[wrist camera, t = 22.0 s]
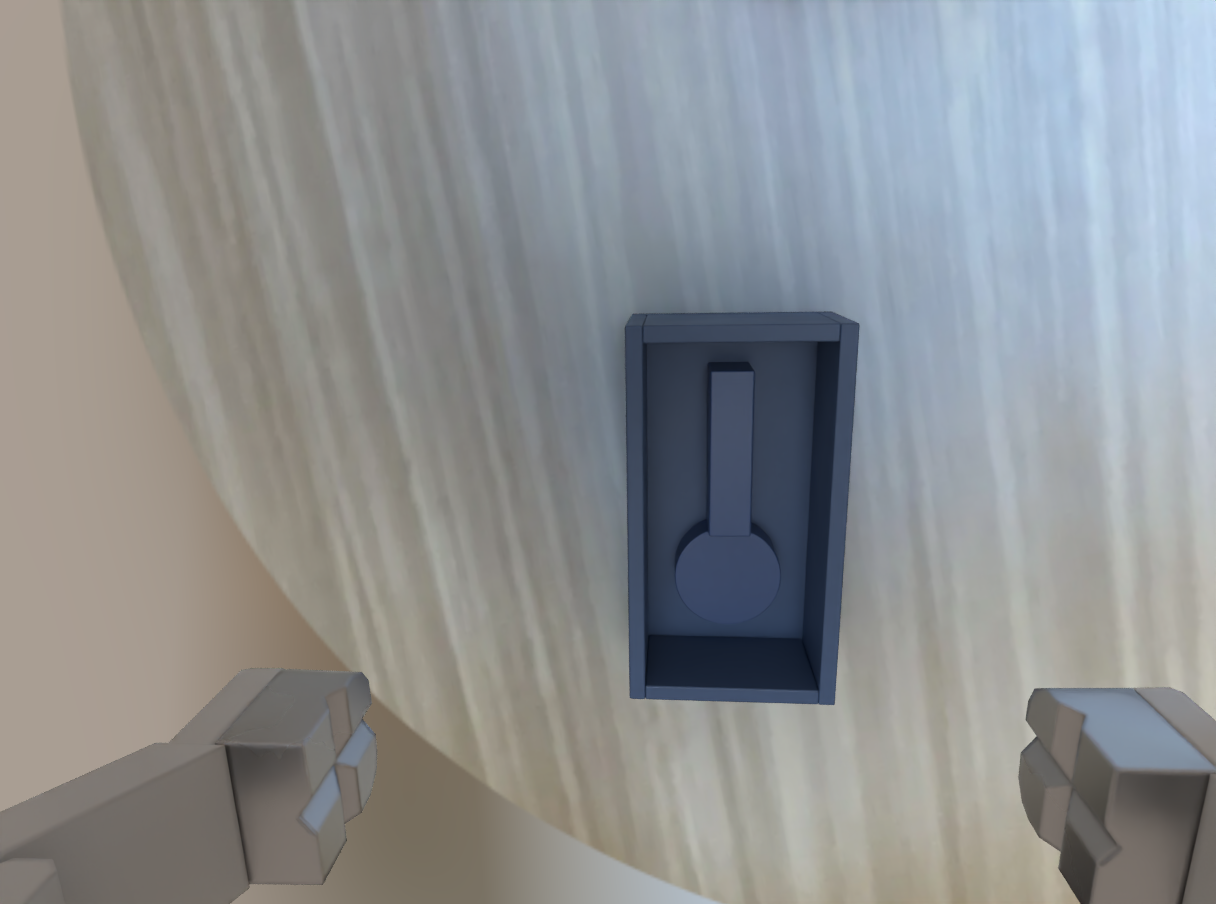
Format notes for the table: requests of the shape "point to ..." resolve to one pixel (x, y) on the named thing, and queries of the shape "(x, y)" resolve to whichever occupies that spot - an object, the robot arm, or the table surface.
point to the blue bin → (781, 500)
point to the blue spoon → (728, 513)
